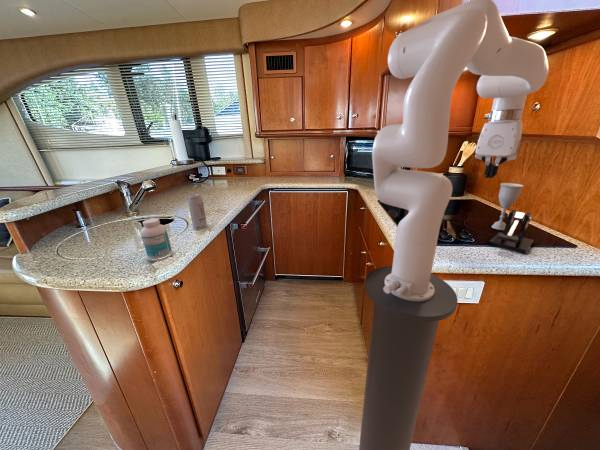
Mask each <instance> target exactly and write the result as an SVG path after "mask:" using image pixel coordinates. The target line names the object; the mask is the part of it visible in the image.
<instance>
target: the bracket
mask: <svg viewBox="0 0 600 450" xmlns="http://www.w3.org/2000/svg"><path fill="white" fill-rule="evenodd" d="M516 212H517V209H512V210H510V211H509V213H508V214H507V216H506V218H507V220H506V222H505V224H506V226H505V229H504V230H503V232H501V231H499V232H497V233H496V234H495V235H494V236H493V237H492V238H491V239H490V240H489V241H488V246H492V247H495V248H500V249H503V250H507V251H512V252H515V253H519V254H522V255H527V253H529V250H530V249H531V248H532V246H533V245H534V244H535V243H534V242H535V239H533V238H532V239H531V238H528V237H525V235H526V233H527V229H528V226H529V224H530V222H532V218H533V217H532V214H533V213H532V212H530V211H529V212H528V211H527V213H525V217H524V220H523V221H522V223H521V227H520V230H519V232H518V235H514V234H513V235H512V236H513V237H517V238H519V241H518V243H514V242H510V241H506V240H501V239H498V235H499V234H504V235H507V234H508V233H509V231H510V229H511V227H512V225H513V223H514V222H513V220H514V216H515V214H516Z"/></svg>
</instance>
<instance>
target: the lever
mask: <svg viewBox="0 0 600 450" xmlns="http://www.w3.org/2000/svg"><path fill="white" fill-rule="evenodd" d="M525 215H526V212H521V211H516V214H515V216H514V220H513V223H512V227H511V229H510V231H509V233H508V234H507V235H504V234H499V235H498V239H501V240H506V241H510V242H514V243H518V241H519V238H517V237H513V236H512V235H514V233H515V231H516V230H517V227H518V226H519V224H522V223H523V220H524V217H525Z"/></svg>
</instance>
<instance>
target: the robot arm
mask: <svg viewBox="0 0 600 450" xmlns="http://www.w3.org/2000/svg"><path fill="white" fill-rule="evenodd" d="M546 53H547V52H546V51H545V49H544V48H543V47H542V46H541V45H539V44H537V43H536V42H532V41H529V40H525V39H522V38H518V37H515V36H510V35H509V32H508V30H507V28H506V26H505V23H504V20H503V18H502V16H501V13H500V11H499V9H498V6H497V5H496V3H495V2H494V1H493V0H469V1H467V2H464V3H461V4H459V5H456V6H454V7H452V8H449V9H446V10H443V11H441V12H439V13H437V14H435V15H433V16H430V17H429V18H427V19H425V20H423V21H422V22H420V23H418V24H417V25H415V26H413V27H411V28H408V29H407V30H405V31H404V32H401V33H400V34H399V35H397V36H396V37H395V38H394V39H393V41H392V43H391V45H390V46H389V48H388V53H387V66H388V69H389V72H390V74H391V75H392V76H394V77H395V78H397V79H400V80H405V79H410V78H413V79H412V80H411V82H410V84H409V85H408V88H407V90H406V92H405V94H404V98H403V105H402V123H394V124H393V123H392V124H388V125H385V126H383V127H382V128H381V129H380V130H379V131H378V132H377V133H376V135H375V137H374V140H373V144H372V150H371V159H372V172H373V185H374V192H375V196H376V198H377V199H378V201H379V202H380V203H382V204H384V205H388V206H392V207H395V208H400V209H404V210H406V211H408V213H407V214H406V215H405V216H404V217H403V218H402V219H401V220H400V221H399V222H398V224H397V227H396V231H395V232H396V233H395V242H394V248H393V258H392V265H391V266H392V273H391V274H389V275H387V276H386V278H385V282H384V284H385V286H384V287H383V290H384V292H385V293H387V294H388V293H390V292H391V293H392V294H393V295H395V296H397V297H399V298H402V299H404V300H408V301H416V302H420V301H426V300H429V299H431V298H432V297H433V295H434V291H435V289H434V286H433V285H432V284H431V283H430V282H429V281H430V276H431V274H432V271H433V267H434V266H433V265H434V260H435V255H436V250H437V245H438V240H439V235H440V231H441V230H440V229H441V226H442V223H441V222H442V218H443V219H444V215H445V213H446V210H447V208H448V205H449V202H450V200H451V198H452V194H453V184H452V181H451V180H450V179H449V178H448V177H447V176H446V175H443V174H441V173H439V172H433V171H426V170H425V171H424V170H415V169H431V168H435V167H438V166H439V165H441V164H442V163H443V161H444V159H445V158H446V155H447V151H448V144H449V131H450V118H451V105H452V97H453V93H454V91H455V87H456V85H457V83H458V81H459V79H460V77H461V76H462V74H463V72H464V71H465V69H466V68H467V70H468V71H469V72H470V73H471V74H473V75H478V76H480V77H479V79H478V80H477V83H476V92H477V95H478V96H479V97H480V98H481V99H484V100H485V99H489V100H490V99H493V101H492V104H491V105H492V106H491V110H490V112H489V113H487V114H484V116H483V119H484V120H487V121H488V122H485V123H484V124H483V127H482V129H481V130H480V131H481V132H480V133H479V138H478V140H477V143H476V147H475V155H474V158H475V159H477V160H480V161H482V162H483V163H484V165H485V169H484V174H483V175H484V176H485V177H484V178H485V179H493V178H495V177H497V175H498V171H499V167H500V166H501V165H502V164H504V163H505V162H508V161H515V160H516V159H518V158H517V157H518V156H517V155H518V154H517V153H518V152H519V150H520V144H521V139H522V133H523V121H521V118H522V115H523V112H524V107H525V104H526V100H527V97H528V95H530V94H533V93H536V92H537V91H539V90H540V89H541V88H542V87H543V86H544V84H545V83H546V80H547V79H548V76H549V60H548V57H547V54H546ZM494 157H496V158H495V161H494V160H493V159H494ZM493 161H494V162H493ZM402 168H413V169H414V170H410V169H402Z"/></svg>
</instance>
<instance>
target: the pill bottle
mask: <svg viewBox="0 0 600 450" xmlns="http://www.w3.org/2000/svg"><path fill="white" fill-rule="evenodd" d="M142 226H143V228H142V229H141V230H140V236H141V239H142V242H143V246H144V249H145V250H144V251H145V252H146V255H147V259H148V258H149V259H148V261H150V262H161V261H165V260H167V259H169V258H171V257H172V255H173V250H172V247H171V242H170V238H169V234H168V230H167V227H166V226H165V225H164V224H161V221H160V219H159V218H149V219H145V220H143V221H142ZM171 253H172V254H171ZM169 254H171V255H169ZM167 255H169V256H167ZM165 256H167V257H165ZM162 257H165V258H162ZM158 258H162V259H158ZM150 259H157V260H150Z"/></svg>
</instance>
